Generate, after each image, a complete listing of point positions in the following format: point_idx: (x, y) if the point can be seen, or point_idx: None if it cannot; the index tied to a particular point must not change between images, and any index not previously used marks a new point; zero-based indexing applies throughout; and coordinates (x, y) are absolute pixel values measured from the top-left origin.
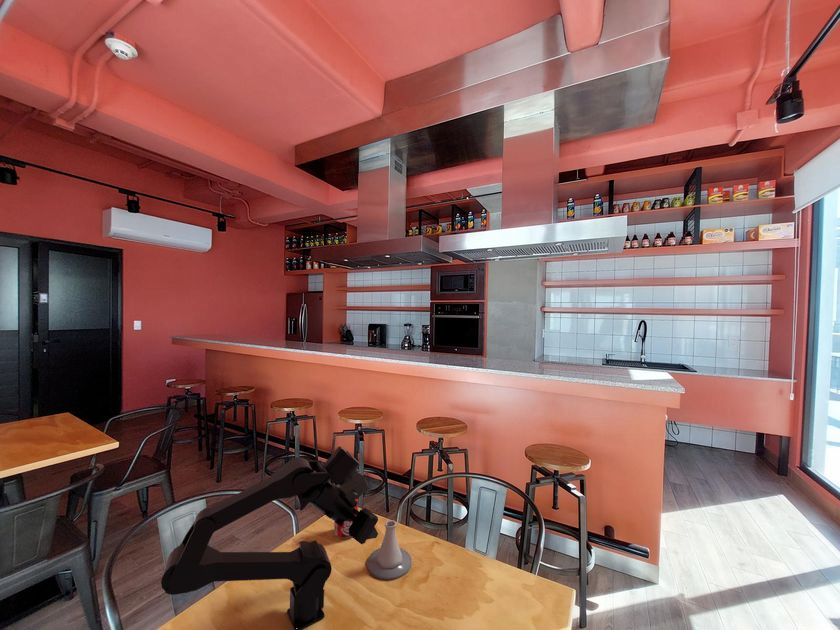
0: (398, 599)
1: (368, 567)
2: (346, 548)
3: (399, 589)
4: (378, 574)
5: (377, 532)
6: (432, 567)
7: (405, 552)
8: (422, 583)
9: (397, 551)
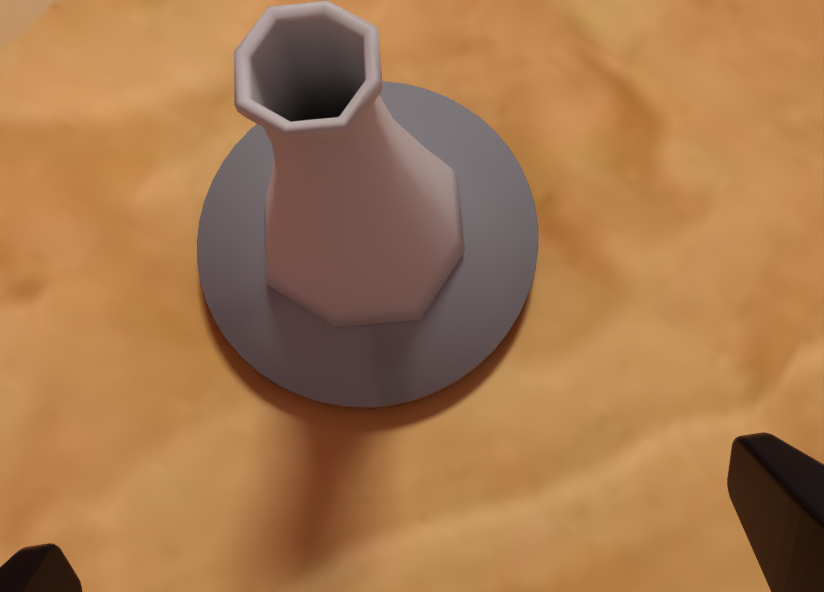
0: (709, 358)
1: (336, 404)
2: (8, 443)
3: (631, 306)
4: (450, 374)
5: (817, 463)
6: (569, 21)
7: None
8: (662, 150)
9: (427, 162)
